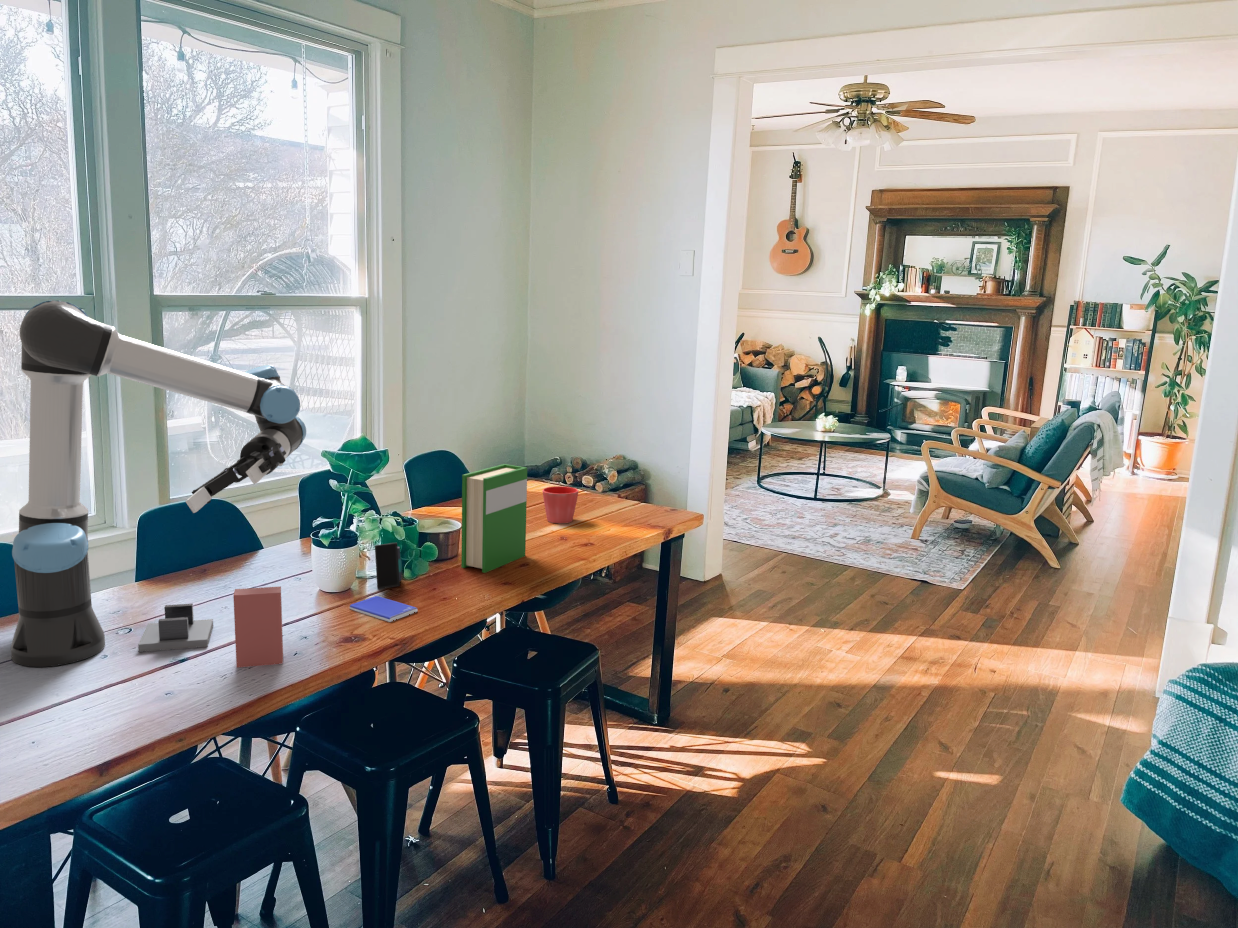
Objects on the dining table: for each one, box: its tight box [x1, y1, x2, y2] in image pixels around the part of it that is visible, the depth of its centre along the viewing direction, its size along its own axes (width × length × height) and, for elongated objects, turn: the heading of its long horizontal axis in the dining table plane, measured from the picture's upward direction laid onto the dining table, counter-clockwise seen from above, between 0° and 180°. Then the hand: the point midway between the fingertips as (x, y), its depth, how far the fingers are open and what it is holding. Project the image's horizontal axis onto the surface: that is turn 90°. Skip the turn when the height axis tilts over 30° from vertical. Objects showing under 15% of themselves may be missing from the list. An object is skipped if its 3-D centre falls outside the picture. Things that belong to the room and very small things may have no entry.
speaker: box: [374, 542, 403, 590], centre depth 218 cm, size 8×6×10 cm
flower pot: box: [541, 485, 579, 524], centre depth 281 cm, size 11×11×10 cm
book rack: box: [137, 603, 214, 653], centre depth 181 cm, size 12×11×6 cm
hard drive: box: [349, 595, 418, 623], centre depth 202 cm, size 2×8×12 cm
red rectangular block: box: [232, 586, 284, 669], centre depth 171 cm, size 8×4×14 cm, turn 108°
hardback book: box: [460, 463, 528, 574], centre depth 237 cm, size 18×7×24 cm, turn 151°
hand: (220, 492), depth 171 cm, fingers open, 13 cm apart
